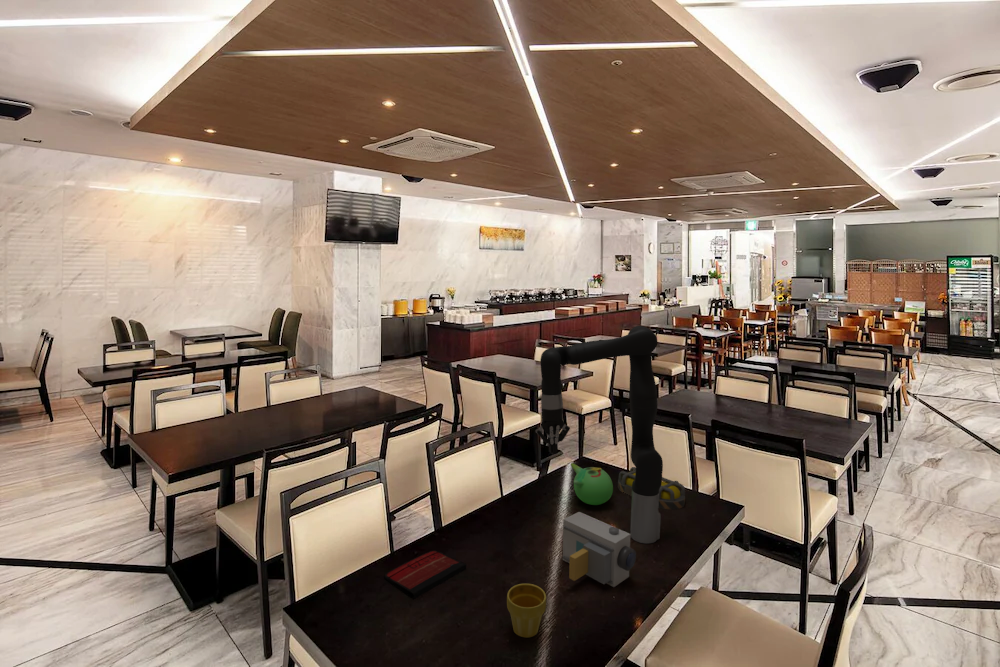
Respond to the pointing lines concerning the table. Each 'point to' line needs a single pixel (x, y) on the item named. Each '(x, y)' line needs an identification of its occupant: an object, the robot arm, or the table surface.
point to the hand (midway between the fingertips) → (553, 453)
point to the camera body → (599, 543)
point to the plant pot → (526, 608)
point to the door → (591, 563)
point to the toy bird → (592, 485)
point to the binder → (424, 572)
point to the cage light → (667, 493)
